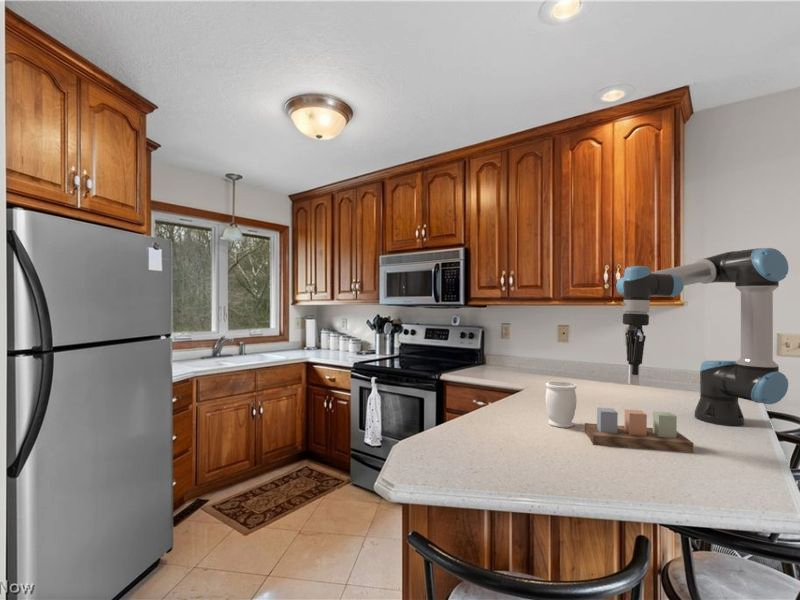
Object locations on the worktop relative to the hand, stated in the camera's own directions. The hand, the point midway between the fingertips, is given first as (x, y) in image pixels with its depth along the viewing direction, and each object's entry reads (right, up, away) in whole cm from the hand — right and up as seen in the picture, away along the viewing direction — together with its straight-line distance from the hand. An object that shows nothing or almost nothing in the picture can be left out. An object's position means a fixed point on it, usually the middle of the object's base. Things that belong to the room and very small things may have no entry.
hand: (633, 384), depth 136 cm
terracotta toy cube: (-1, -16, -2) cm, 16 cm away
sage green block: (+8, -16, -4) cm, 18 cm away
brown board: (-1, -18, -2) cm, 18 cm away
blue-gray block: (-9, -16, 0) cm, 18 cm away
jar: (-18, -18, +15) cm, 30 cm away
